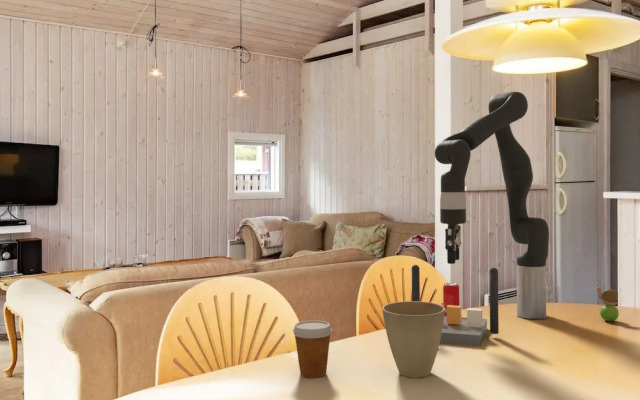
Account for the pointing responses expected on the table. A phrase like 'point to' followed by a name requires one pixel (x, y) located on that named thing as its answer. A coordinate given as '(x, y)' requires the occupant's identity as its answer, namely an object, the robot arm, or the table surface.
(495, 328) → the dark grey post
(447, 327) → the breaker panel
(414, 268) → the dark grey rod
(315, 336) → the disposable coffee cup
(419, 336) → the plant pot
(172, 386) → the table surface
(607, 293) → the snail figurine
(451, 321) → the block
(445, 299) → the beverage can
